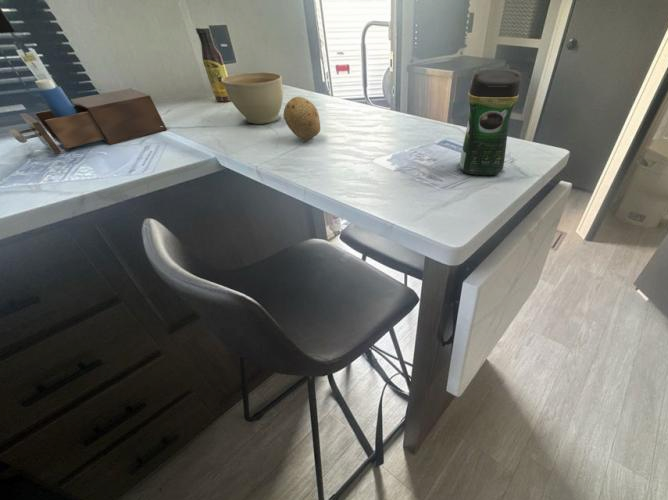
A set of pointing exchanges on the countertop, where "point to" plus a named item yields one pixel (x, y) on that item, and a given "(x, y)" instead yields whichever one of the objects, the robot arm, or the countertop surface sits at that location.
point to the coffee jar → (489, 120)
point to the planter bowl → (256, 95)
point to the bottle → (55, 98)
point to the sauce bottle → (213, 64)
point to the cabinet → (122, 114)
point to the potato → (302, 118)
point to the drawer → (61, 129)
